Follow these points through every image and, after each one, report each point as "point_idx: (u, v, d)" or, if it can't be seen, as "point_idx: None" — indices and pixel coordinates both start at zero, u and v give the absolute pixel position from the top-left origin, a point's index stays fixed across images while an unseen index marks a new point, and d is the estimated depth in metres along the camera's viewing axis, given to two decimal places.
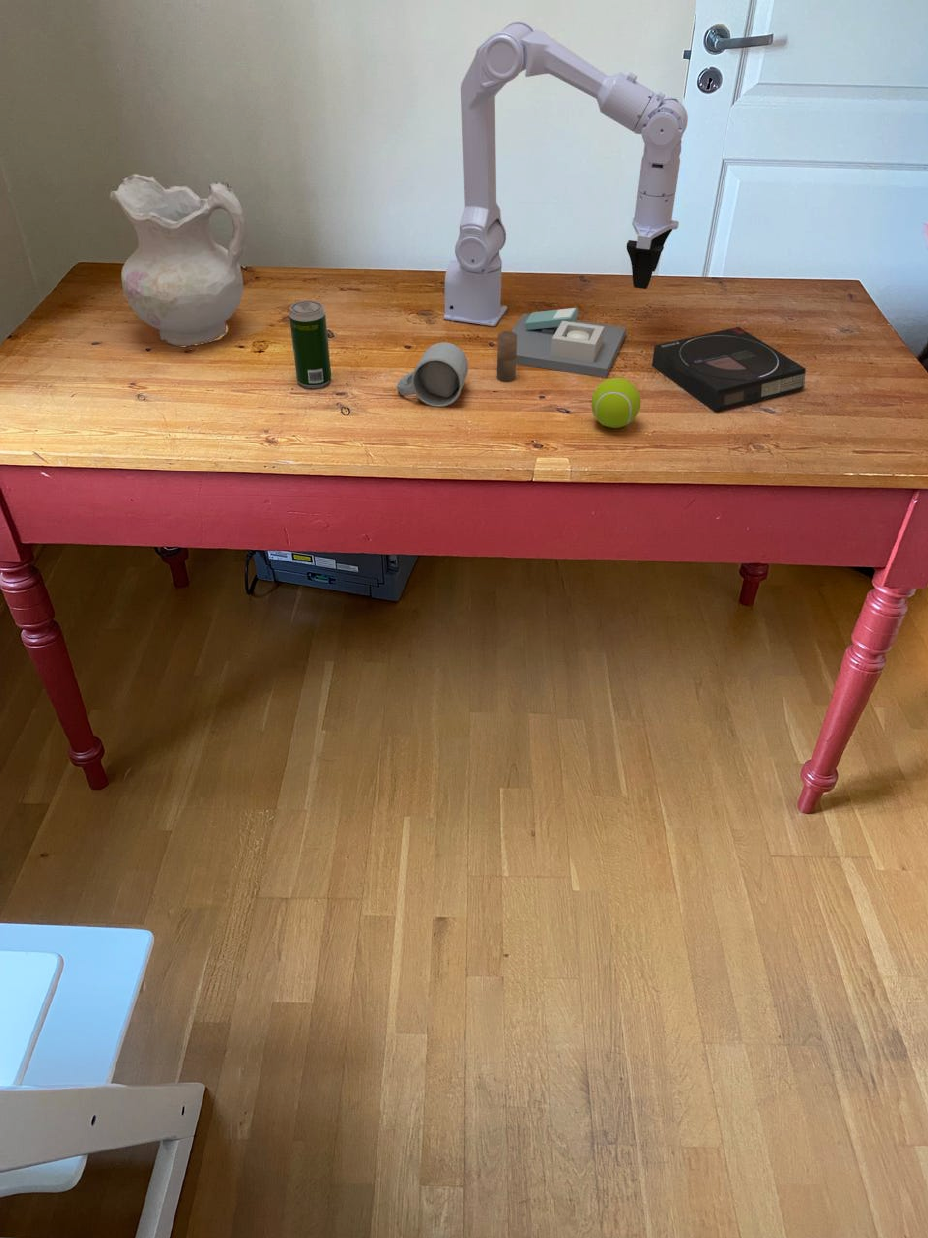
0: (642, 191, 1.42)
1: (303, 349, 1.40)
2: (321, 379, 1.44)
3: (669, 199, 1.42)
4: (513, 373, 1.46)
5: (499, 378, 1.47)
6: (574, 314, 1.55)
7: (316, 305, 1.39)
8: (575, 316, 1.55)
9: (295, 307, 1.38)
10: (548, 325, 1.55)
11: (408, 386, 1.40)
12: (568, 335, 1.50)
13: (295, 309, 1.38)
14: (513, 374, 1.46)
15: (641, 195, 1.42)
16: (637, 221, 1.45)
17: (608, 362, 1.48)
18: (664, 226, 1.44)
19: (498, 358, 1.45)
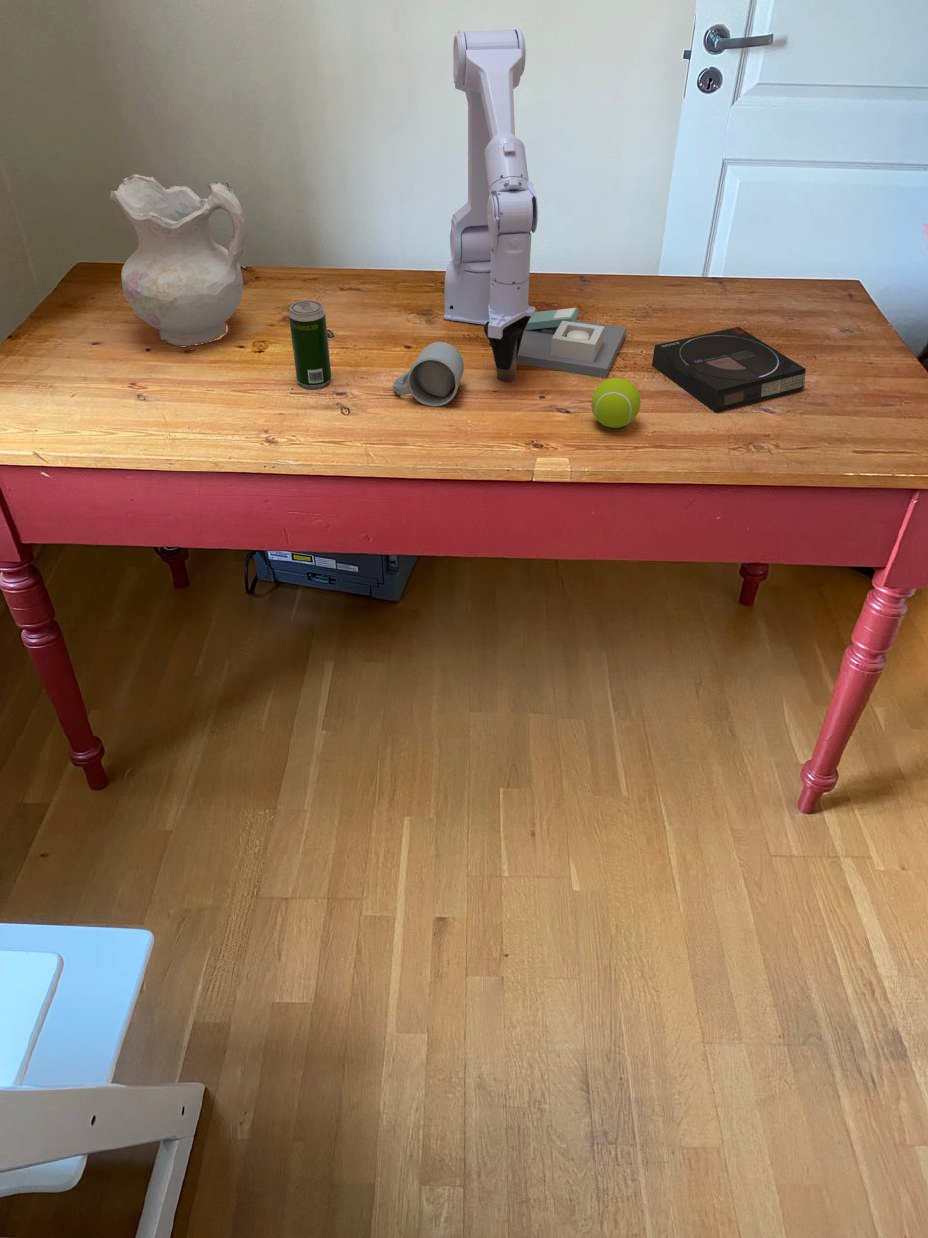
0: None
1: (303, 349, 1.40)
2: (321, 379, 1.44)
3: (521, 287, 1.36)
4: (513, 373, 1.46)
5: (499, 378, 1.47)
6: (574, 314, 1.55)
7: (316, 305, 1.39)
8: (575, 316, 1.55)
9: (295, 307, 1.38)
10: (548, 325, 1.55)
11: (404, 386, 1.40)
12: (568, 335, 1.50)
13: (295, 309, 1.38)
14: (513, 374, 1.46)
15: (493, 282, 1.36)
16: (491, 307, 1.39)
17: (608, 362, 1.48)
18: (518, 313, 1.38)
19: None
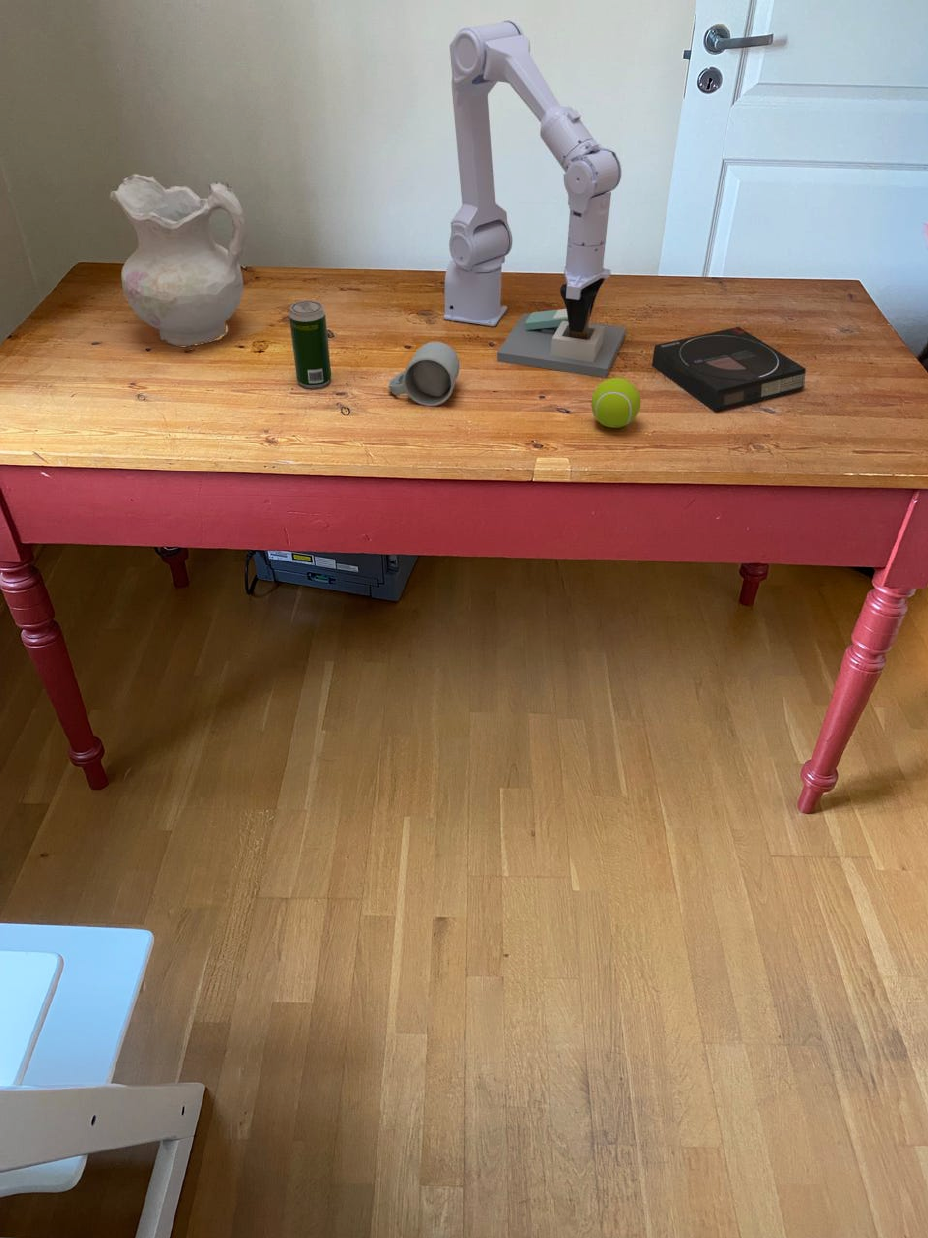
0: (568, 237, 1.40)
1: (303, 349, 1.40)
2: (321, 379, 1.44)
3: (599, 248, 1.39)
4: (586, 336, 1.49)
5: None
6: None
7: (316, 305, 1.39)
8: None
9: (295, 307, 1.38)
10: (548, 325, 1.55)
11: (399, 385, 1.41)
12: None
13: (295, 309, 1.38)
14: (586, 337, 1.49)
15: (571, 244, 1.39)
16: (568, 270, 1.42)
17: (608, 362, 1.48)
18: (595, 275, 1.41)
19: None
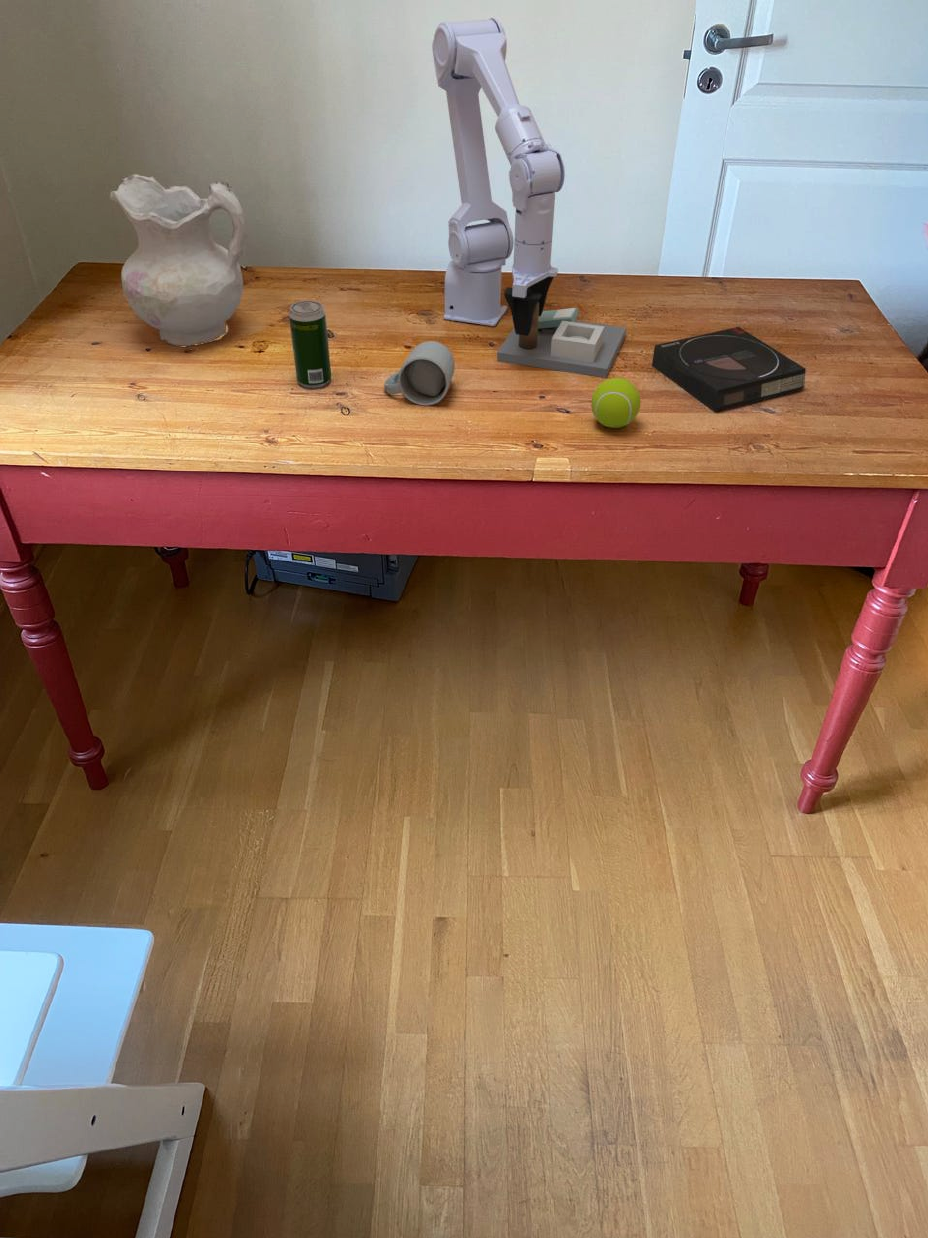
0: None
1: (303, 349, 1.40)
2: (321, 379, 1.44)
3: (545, 247, 1.40)
4: (535, 340, 1.51)
5: (522, 346, 1.52)
6: (574, 314, 1.55)
7: (316, 305, 1.39)
8: (575, 316, 1.55)
9: (295, 307, 1.38)
10: (548, 325, 1.55)
11: (395, 385, 1.41)
12: None
13: (295, 309, 1.38)
14: (535, 341, 1.52)
15: (517, 243, 1.41)
16: (515, 268, 1.43)
17: (608, 362, 1.48)
18: (542, 274, 1.42)
19: None
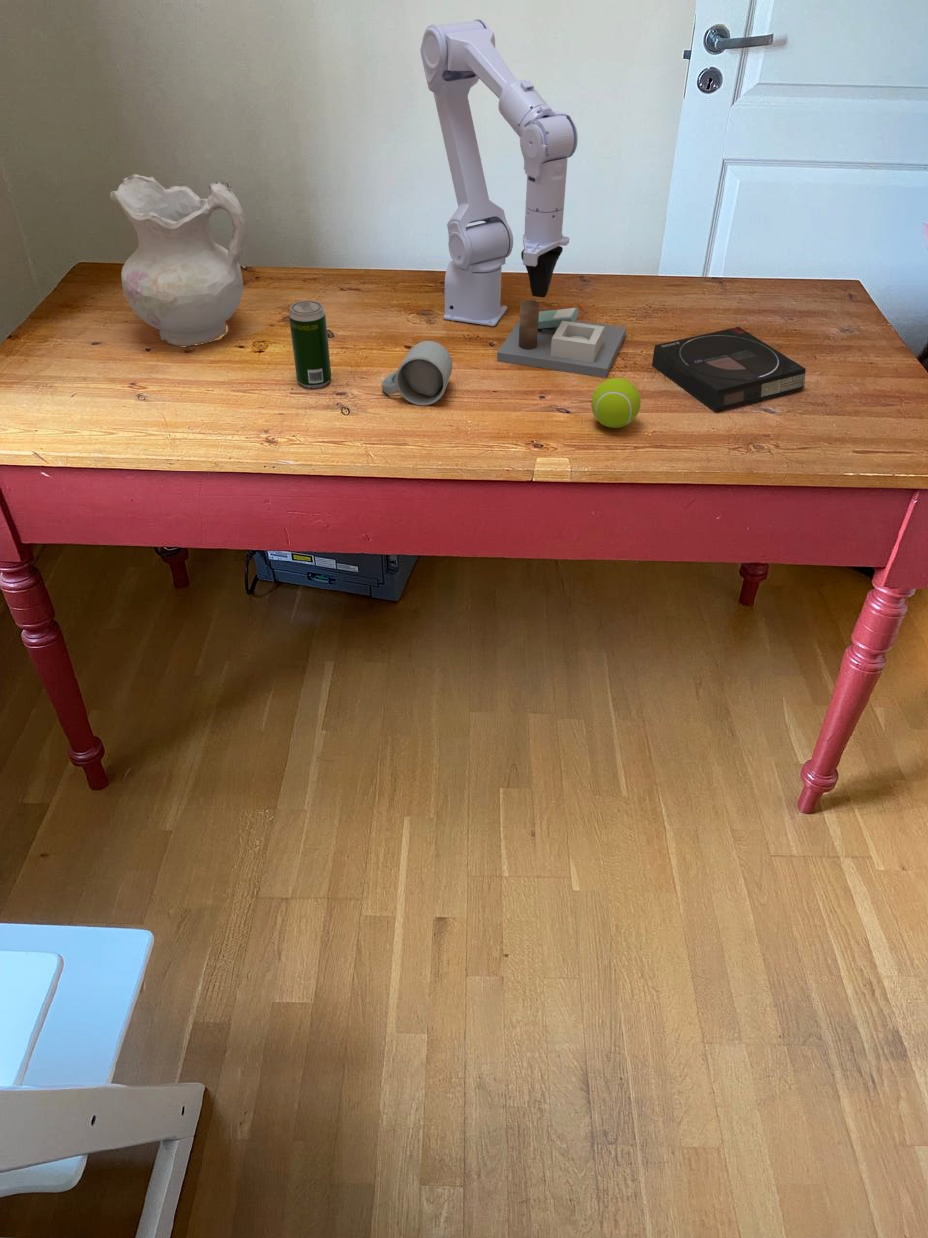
0: None
1: (303, 349, 1.40)
2: (321, 379, 1.44)
3: (556, 215, 1.38)
4: (535, 341, 1.51)
5: (522, 346, 1.52)
6: (574, 314, 1.55)
7: (316, 305, 1.39)
8: (575, 316, 1.55)
9: (295, 307, 1.38)
10: (548, 325, 1.55)
11: (392, 385, 1.41)
12: None
13: (295, 309, 1.38)
14: (535, 342, 1.52)
15: (528, 211, 1.39)
16: (526, 237, 1.41)
17: (608, 362, 1.48)
18: (553, 242, 1.40)
19: (521, 326, 1.50)
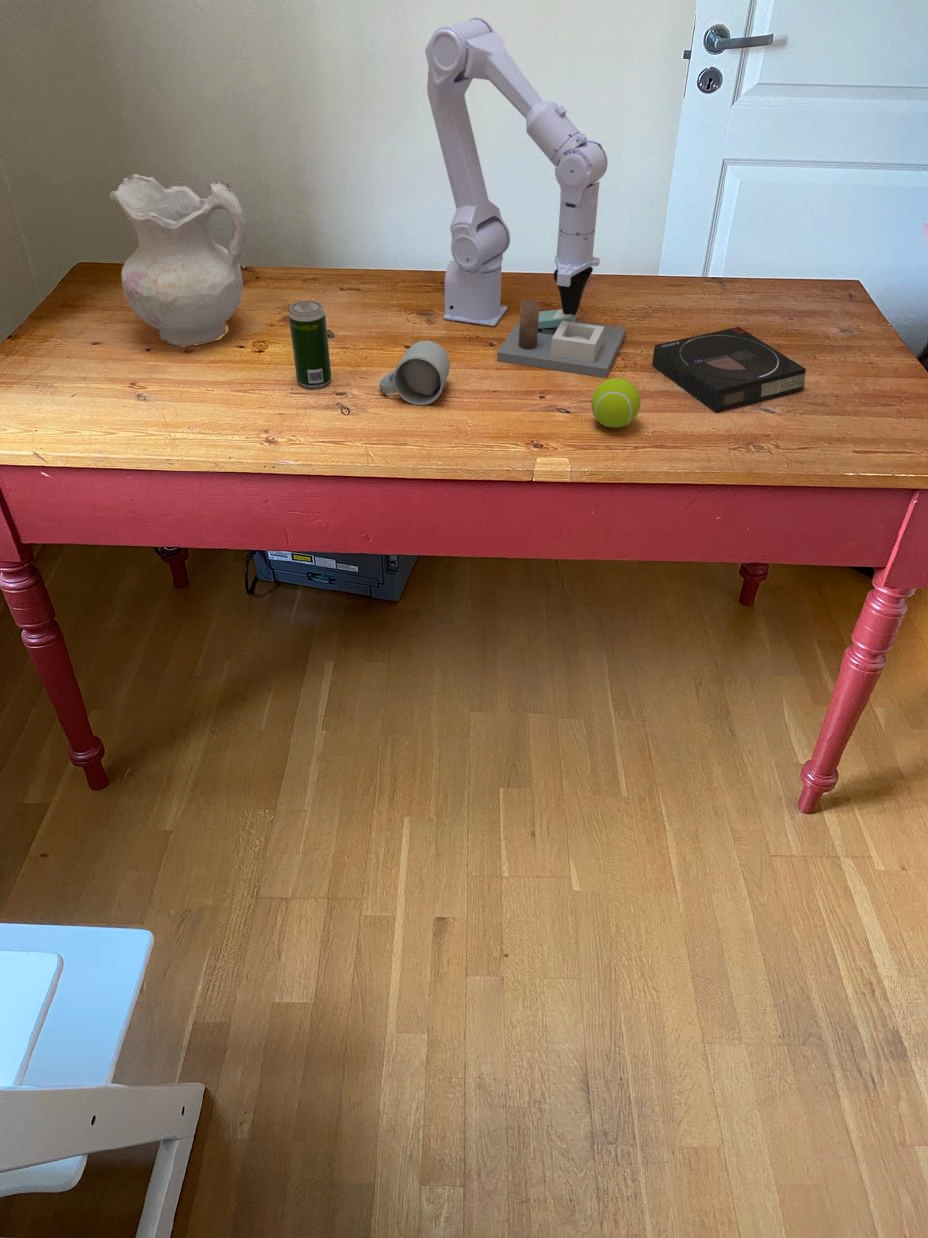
0: (559, 228, 1.45)
1: (303, 349, 1.40)
2: (321, 379, 1.44)
3: (588, 237, 1.45)
4: (535, 341, 1.51)
5: (522, 346, 1.52)
6: None
7: (316, 305, 1.39)
8: (575, 316, 1.55)
9: (295, 307, 1.38)
10: (548, 325, 1.55)
11: (390, 384, 1.41)
12: None
13: (295, 309, 1.38)
14: (535, 341, 1.52)
15: (561, 233, 1.45)
16: (559, 258, 1.48)
17: (608, 362, 1.48)
18: (585, 263, 1.47)
19: (521, 326, 1.50)
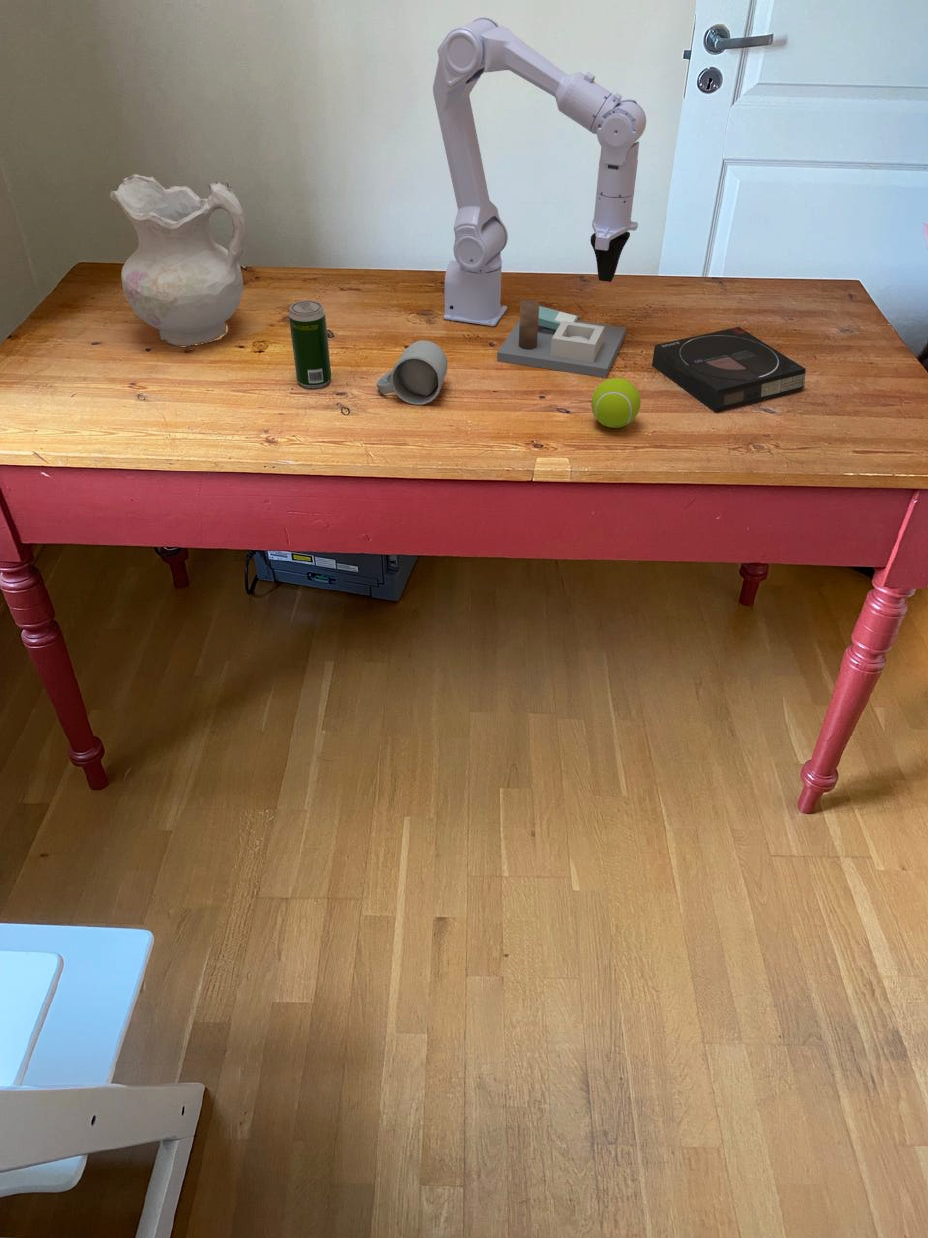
0: (599, 192, 1.42)
1: (303, 349, 1.40)
2: (321, 379, 1.44)
3: (627, 200, 1.42)
4: (535, 340, 1.51)
5: (522, 346, 1.52)
6: None
7: (316, 305, 1.39)
8: None
9: (295, 307, 1.38)
10: (547, 325, 1.55)
11: (387, 384, 1.41)
12: None
13: (295, 309, 1.38)
14: (535, 341, 1.52)
15: (599, 196, 1.42)
16: (596, 222, 1.45)
17: (608, 362, 1.48)
18: (623, 227, 1.44)
19: (521, 326, 1.50)
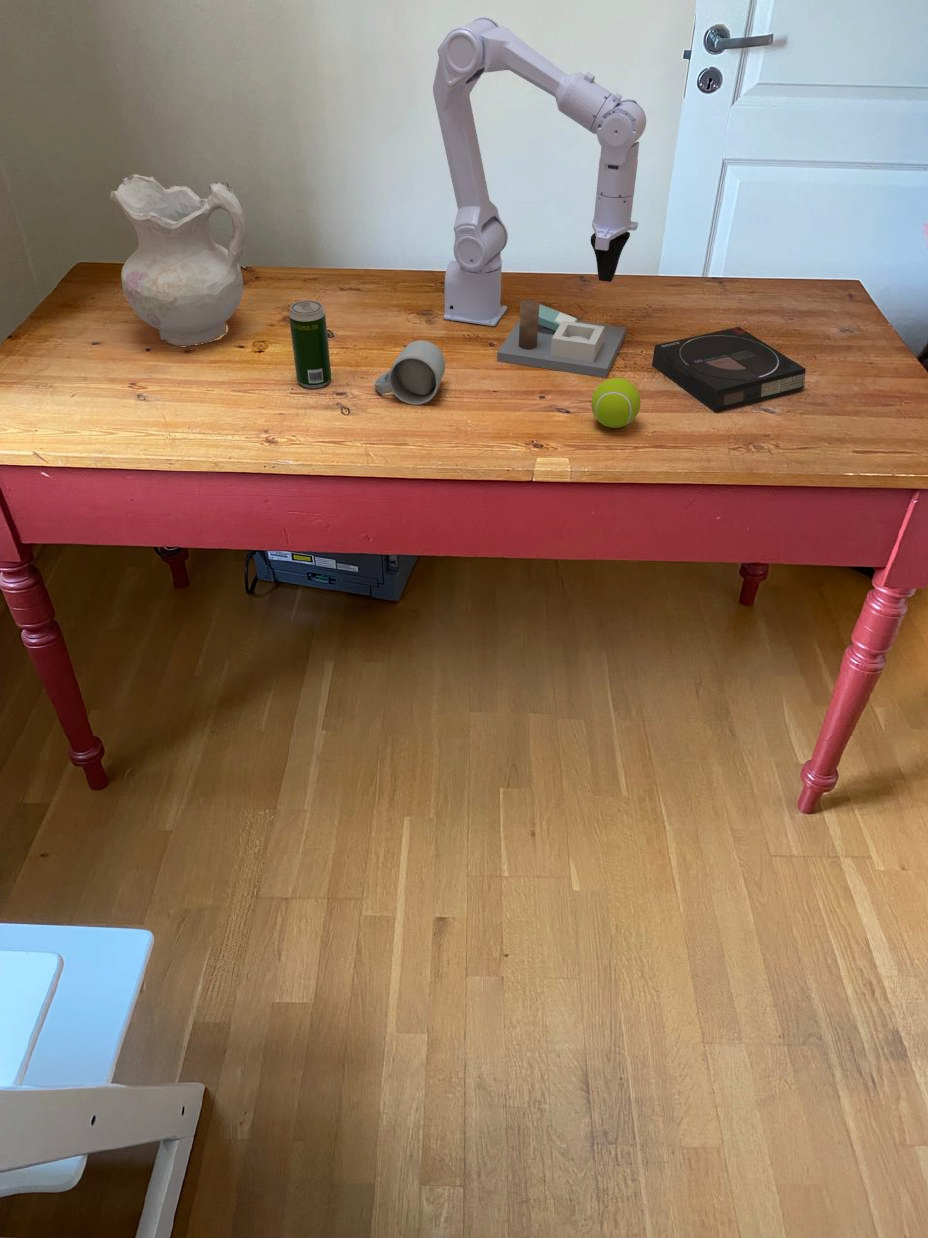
0: (599, 192, 1.42)
1: (303, 349, 1.40)
2: (321, 379, 1.44)
3: (627, 200, 1.42)
4: (535, 341, 1.51)
5: (522, 346, 1.52)
6: None
7: (316, 305, 1.39)
8: None
9: (295, 307, 1.38)
10: (547, 325, 1.55)
11: (385, 384, 1.41)
12: None
13: (295, 309, 1.38)
14: (535, 342, 1.52)
15: (599, 196, 1.42)
16: (596, 222, 1.45)
17: (608, 362, 1.48)
18: (623, 227, 1.44)
19: (521, 326, 1.50)
